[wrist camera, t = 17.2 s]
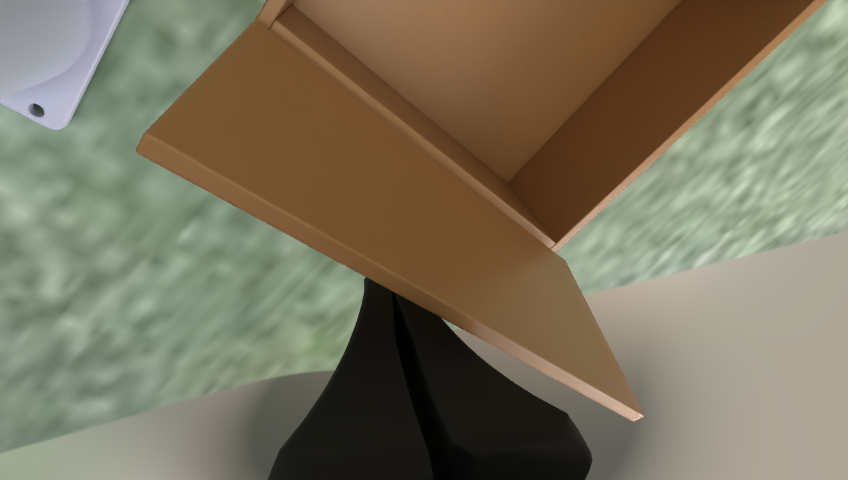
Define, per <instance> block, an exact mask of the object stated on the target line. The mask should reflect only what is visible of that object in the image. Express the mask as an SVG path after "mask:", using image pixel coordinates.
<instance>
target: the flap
mask: <svg viewBox="0 0 848 480" xmlns="http://www.w3.org/2000/svg"><path fill="white" fill-rule="evenodd" d="M136 152H137V153H138V154H140V155H142V156H144V157H145V158H147V159H149V160H151V161H153V162H155V163H157V164H158V165H160V166H162V167H164V168H166V169H168V170H169V171H171V172H173V173H175V174H177V175H179V176H181V177H182V178H184V179H186V180H188V181H190V182H192V183H193V184H195V185H197V186H199V187H201V188H203V189H205V190H206V191H208V192H210V193H212V194H214V195H216V196H217V197H219V198H221V199H223V200H225V201H227V202H229V203H230V204H232V205H234V206H236V207H238V208H240V209H241V210H243V211H245V212H247V213H249V214H251V215H253V216H254V217H256V218H258V219H260V220H262V221H264V222H266V223H267V224H269V225H271V226H273V227H275V228H277V229H278V230H280V231H282V232H284V233H286V234H288V235H290V236H291V237H293V238H295V239H297V240H299V241H301V242H302V243H304V244H306V245H308V246H310V247H312V248H314V249H315V250H317V251H319V252H321V253H323V254H325V255H326V256H328V257H330V258H332V259H334V260H336V261H338V262H339V263H341V264H343V265H345V266H347V267H349V268H350V269H352V270H354V271H356V272H358V273H360V274H362V275H363V276H365V277H367V278H369V279H371V280H373V281H375V282H376V283H378V284H380V285H382V286H384V287H386V288H387V289H389V290H391V291H393V292H395V293H397V294H399V295H400V296H402V297H404V298H406V299H408V300H410V301H411V302H413V303H415V304H417V305H419V306H421V307H423V308H424V309H426V310H428V311H430V312H432V313H434V314H435V315H437V316H439V317H441V318H443V319H445V320H447V321H448V322H450V323H452V324H454V325H456V326H458V327H459V328H461V329H463V330H465V331H467V332H469V333H471V334H473V335H474V336H476V337H478V338H480V339H482V340H484V341H485V342H487V343H489V344H491V345H493V346H495V347H497V348H498V349H500V350H502V351H504V352H506V353H508V354H509V355H511V356H513V357H515V358H517V359H519V360H520V361H522V362H524V363H526V364H528V365H530V366H532V367H533V368H535V369H537V370H539V371H541V372H543V373H545V374H546V375H548V376H550V377H552V378H554V379H556V380H557V381H559V382H561V383H563V384H565V385H567V386H568V387H570V388H572V389H574V390H576V391H578V392H580V393H581V394H584V395H585V396H587V397H589V398H591V399H593V400H594V401H596V402H598V403H600V404H602V405H604V406H605V407H607V408H609V409H611V410H613V411H615V412H617V413H619V414H620V415H622V416H624V417H626V418H628V419H629V420H631V421H636V420H638V419H640V418H642V417H644V414H643V412H642V410H641V408H640V406H639V404H638V402H637V400H636V398H635V396H634V394H633V392H632V390H631V388H630V386H629V384H628V382H627V380H626V378H625V377H624V374H623V372H622V371H621V369H620V367H619V365H618V363H617V361H616V359H615V357H614V355H613V353H612V351H611V349H610V347H609V345H608V343H607V341H606V340H605V338H604V335H603V334H602V331H601V330H600V328H599V326H598V324H597V322H596V320H595V318H594V316H593V314H592V312H591V310H590V308H589V306H588V304H587V302H586V300H585V298H584V296H583V294H582V292H581V290H580V289H579V287H578V285H577V283H576V281H575V279H574V277H573V275H572V273H571V271H570V269H569V267H568V265H567V263H566V261H565V260H564V259H563V258H561V257H560V256H559V255H558V254H556V253H555V252H554V251H552V250H551V249H550V248H549V247H547V246H546V245H545V244H543V243H542V242H541V241H540V240H538V239H537V238H536V237H534V236H533V235H532V234H530V233H529V232H528V231H527V230H525V229H524V228H523V227H521V226H520V225H519V224H518V223H516V222H515V221H514V220H512V219H511V218H510V217H509V216H507V215H506V214H505V213H503V212H502V211H501V210H500V209H498V208H497V207H496V206H494V205H493V204H492V203H491V202H489V201H488V200H487V199H485V198H484V197H483V196H482V195H480V194H479V193H478V192H476V191H475V190H474V189H473V188H471V187H470V186H469V185H467V184H466V183H465V182H464V181H462V180H461V179H460V178H458V177H457V176H456V175H455V174H453V173H452V172H451V171H449V170H448V169H447V168H446V167H444V166H443V165H442V164H440V163H439V162H438V161H437V160H435V159H434V158H433V157H431V156H430V155H429V154H428V153H426V152H425V151H424V150H422V149H421V148H420V147H419V146H417V145H416V144H415V143H413V142H412V141H411V140H410V139H408V138H407V137H406V136H404V135H403V134H402V133H401V132H399V131H398V130H397V129H395V128H394V127H393V126H392V125H390V124H389V123H388V122H386V121H385V120H384V119H383V118H381V117H380V116H379V115H377V114H376V113H375V112H374V111H372V110H371V109H370V108H368V107H367V106H366V105H365V104H363V103H362V102H361V101H359V100H358V99H357V98H356V97H354V96H353V95H352V94H350V93H349V92H348V91H347V90H345V89H344V88H343V87H341V86H340V85H339V84H337V83H336V82H335V81H334V80H332V79H331V78H330V77H328V76H327V75H326V74H325V73H323V72H322V71H321V70H319V69H318V68H317V67H316V66H314V65H313V64H312V63H310V62H309V61H308V60H307V59H305V58H304V57H303V56H301V55H300V54H299V53H298V52H296V51H295V50H294V49H292V48H291V47H290V46H289V45H287V44H286V43H285V42H283V41H282V40H281V39H280V38H278V37H277V36H276V35H274V34H273V33H272V32H271V31H269V30H268V29H267V28H265V27H264V26H263V25H262V24H260V23H259V22H258V21H256V20H255V21H254V22H253V23H252V24H251V25H250V26H249V27H248V28H247V29H246V30H245V31H244V32H243V33H242V34H241V35H240V36H239V37H238V38H237V39H236V40H235V41H234V42H233V43H232V44H231V45H230V46H229V47H228V48H227V49H226V50H225V51H224V52H223V53H222V54H221V55H220V56H219V57H218V58H217V59H216V60H215V61H214V62H213V63H212V64H211V65H210V67H209V68H208V69H207V70H206V71H205V72H204V73H203V74H202V75H201V76H200V77H199V78H198V79H197V80H196V81H195V82H194V83H193V84H192V85H191V86H190V87H189V88H188V89H187V90H186V91H185V92H184V93H183V94H182V95H181V96H180V97H179V98H178V99H177V100H176V101H175V102H174V103H173V104H172V105H171V106H170V107H169V108H168V109H167V110H166V111H165V112H164V113H163V114H162V115H161V116H160V117H159V119H158V120H157V121H156V122H155V123H154V124H153V125H152V126H151V127H150V128H149V129H148V130H147V131H146V132H145V133H144V135H143V136H142V138H141V140H140V142H139V144H138V146H137V148H136Z"/></svg>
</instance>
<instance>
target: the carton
mask: <svg viewBox="0 0 848 480" xmlns="http://www.w3.org/2000/svg"><path fill="white" fill-rule="evenodd" d="M826 1H827V0H267V1H266V2H265V4H264V6H263V7H262V9H261V11H260V12H259V14H258V15H257V17H256V19H255V20H256V21H258V22H259V23H260V24H262V25H263V26H264V27H265V28H267V29H268V30H269V31H271V32H272V33H273V34H274V35H276V36H277V37H278V38H280V39H281V40H282V41H283V42H285V43H286V44H287V45H289V46H290V47H291V48H292V49H294V50H295V51H296V52H298V53H299V54H300V55H301V56H303V57H304V58H305V59H307V60H308V61H309V62H310V63H312V64H313V65H314V66H316V67H317V68H318V69H319V70H321V71H322V72H323V73H325V74H326V75H327V76H328V77H330V78H331V79H332V80H334V81H335V82H336V83H337V84H339V85H340V86H341V87H343V88H344V89H345V90H347V91H348V92H349V93H350V94H352V95H353V96H354V97H356V98H357V99H358V100H359V101H361V102H362V103H363V104H365V105H366V106H367V107H368V108H370V109H371V110H372V111H374V112H375V113H376V114H377V115H379V116H380V117H381V118H383V119H384V120H385V121H386V122H388V123H389V124H390V125H392V126H393V127H394V128H395V129H397V130H398V131H399V132H401V133H402V134H403V135H404V136H406V137H407V138H408V139H410V140H411V141H412V142H413V143H415V144H416V145H417V146H419V147H420V148H421V149H422V150H424V151H425V152H426V153H428V154H429V155H430V156H431V157H433V158H434V159H435V160H437V161H438V162H439V163H440V164H442V165H443V166H444V167H446V168H447V169H448V170H449V171H451V172H452V173H453V174H455V175H456V176H457V177H458V178H460V179H461V180H462V181H464V182H465V183H466V184H467V185H469V186H470V187H471V188H473V189H474V190H475V191H476V192H478V193H479V194H480V195H482V196H483V197H484V198H485V199H487V200H488V201H489V202H491V203H492V204H493V205H494V206H496V207H497V208H498V209H500V210H501V211H502V212H503V213H505V214H506V215H507V216H509V217H510V218H511V219H512V220H514V221H515V222H516V223H518V224H519V225H520V226H521V227H523V228H524V229H525V230H527V231H528V232H529V233H530V234H532V235H533V236H534V237H536V238H537V239H538V240H540V241H541V242H542V243H543V244H545V245H546V246H547V247H549V248H550V249H551V250H552V251H554V252H555V253H556V252H557V251H559V250H560V249H561V248H562V247H563V246H564V245H565V244H566V243H567V242H568V241H569V240H570V239H571V238H572V237H574V236H575V235H576V234H577V233H578V232H579V231H580V230H581V229H582V228H583V227H584V226H585V225H586V224H588V223H589V222H590V221H591V220H592V219H593V218H594V217H595V216H596V215H597V214H598V213H599V212H600V211H601V210H603V209H604V208H605V207H606V206H607V205H608V204H609V203H610V202H611V201H612V200H613V199H614V198H615V197H616V196H618V195H619V194H620V193H621V192H622V191H623V190H624V189H625V188H626V187H627V186H628V185H629V184H630V183H631V182H633V181H634V180H635V179H636V178H637V177H638V176H639V175H640V174H641V173H642V172H643V171H644V170H645V169H647V168H648V167H649V166H650V165H651V164H652V163H653V162H654V161H655V160H656V159H657V158H658V157H659V156H660V155H662V154H663V153H664V152H665V151H666V150H667V149H668V148H669V147H670V146H671V145H672V144H673V143H674V142H675V141H677V140H678V139H679V138H680V137H681V136H682V135H683V134H684V133H685V132H686V131H687V130H688V129H689V128H690V127H692V126H693V125H694V124H695V123H696V122H697V121H698V120H699V119H700V118H701V117H702V116H703V115H704V114H706V113H707V112H708V111H709V110H710V109H711V108H712V107H713V106H714V105H715V104H716V103H717V102H718V101H719V100H721V99H722V98H723V97H724V96H725V95H726V94H727V93H728V92H729V91H730V90H731V89H732V88H733V87H734V86H736V85H737V84H738V83H739V82H740V81H741V80H742V79H743V78H744V77H745V76H746V75H747V74H748V73H750V72H751V71H752V70H753V69H754V68H755V67H756V66H757V65H758V64H759V63H760V62H761V61H762V60H763V59H765V58H766V57H767V56H768V55H769V54H770V53H771V52H772V51H773V50H774V49H775V48H776V47H777V46H778V45H780V44H781V43H782V42H783V41H784V40H785V39H786V38H787V37H788V36H789V35H790V34H791V33H792V32H793V31H795V30H796V29H797V28H798V27H799V26H800V25H801V24H802V23H803V22H804V21H805V20H806V19H807V18H809V17H810V16H811V15H812V14H813V13H814V12H815V11H816V10H817V9H818V8H819V7H820V6H821V5H822V4H824V3H825V2H826Z"/></svg>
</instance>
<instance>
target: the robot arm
mask: <svg viewBox="0 0 848 480" xmlns="http://www.w3.org/2000/svg"><path fill="white" fill-rule="evenodd" d="M129 1H130V0H0V103H1V104H3V105H4V106H6V107H8V108H10V109H12V110H14V111H16V112H18V113H20V114H22V115H24V116H26V117H28V118H30V119H31V120H33V121H35V122H37V123H39V124H41V125H43V126H45V127H47V128H50V129H52V130H59V129H62V128H64V127H66V126H67V125H68V124H69V123H70V121H71V119H72V117H73V115H74V113H75V111H76V109H77V107H78V104H79V102H80V100H81V98H82V96H83V94H84V92H85V90H86V88H87V86H88V84H89V82H90V80H91V78H92V76H93V74H94V72H95V70H96V68H97V66H98V64H99V62H100V60H101V58H102V56H103V54H104V52H105V50H106V48H107V46H108V44H109V42H110V40H111V38H112V36H113V34H114V32H115V30H116V28H117V26H118V24H119V21H120V19H121V17H122V15H123V13H124V11H125V9H126V7H127V5H128V3H129ZM34 104H37V105H39V106H41V107H42V108H43V110H44V114H41V113H39V112H38V111H36V110H35V108H34ZM591 463H592V455H591V452H590V450H589V448H588V446H587V444H586V442H585V441H584V439H583V437H582V435H581V434H580V432H579V430H578V429H577V427H576V426H575V424H574V423H573V422H572V420H571V419H570V417H569V416H568V414H567V413H566V412H564V411H561V410H560V409H558V408H556V407H554V406H553V405H551V404H549V403H547V402H545V401H543V400H542V399H540V398H538V397H536V396H534V395H533V394H531V393H529V392H528V391H526V390H525V389H523V388H522V387H520V386H518V385H517V384H515V383H514V382H512V381H511V380H509V379H508V378H507V377H505V376H504V375H502V374H501V373H500V372H498V371H497V370H496V369H494V368H493V367H492V366H490V365H489V364H488V363H486V362H485V361H484V360H483V359H482V358H480V357H479V356H478V355H477V354H476V353H475V352H474V351H473V350H471V349H470V348H469V347H468V346H467V345H466V344H465V343H464V342H463V341H462V340H461V339H460V338H459V337H458V336H457V335H456V334H455V333H454V332H453V331H452V330H451V329H450V327H449V326H448V325H447V324H446V323H445V322H444V321H443V320H442V318H441V317H439V316H437V315H435V314H434V313H432V312H430V311H428V310H426V309H424V308H423V307H421V306H419V305H417V304H415V303H413V302H411V301H410V300H408V299H406V298H404V297H402V296H400V295H399V294H397V293H395V292H393V291H391V290H389V289H387V288H386V287H384V286H382V285H380V284H378V283H376V282H375V281H373V280H371V279H369V278H367V277H366V278H365V279H364V296H363V301H362V305H361V309H360V312H359V316H358V319H357V322H356V325H355V328H354V330H353V333H352V336H351V338H350V341H349V343H348V345H347V348H346V350H345V352H344V354H343V356H342V358H341V360H340V362H339V364H338V366H337V368H336V370H335V372H334V374H333V375H332V377H331V379H330V381H329V383H328V385H327V386H326V388H325V389H324V391H323V393H322V394H321V396H320V397H319V398H318V400H317V401H316V403H315V405H314V406H313V407H312V409H311V410H310V412H309V413H308V415H307V416H306V418H305V419H304V420H303V421H302V423H301V424H300V425H299V427H298V428H297V429H296V430H295V432H294V433H293V434H292V435H291V436H290V438H289V439H288V440H287V442H286V443H285V444H284V445H283V446H282V448H281V449H280V451H279V453H278V456H277V458H276V460H275V463H274V465H273V467H272V470H271V473H270V476H269V478H268V480H585V479H586V476H587V474H588V472H589V470H590V467H591Z"/></svg>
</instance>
